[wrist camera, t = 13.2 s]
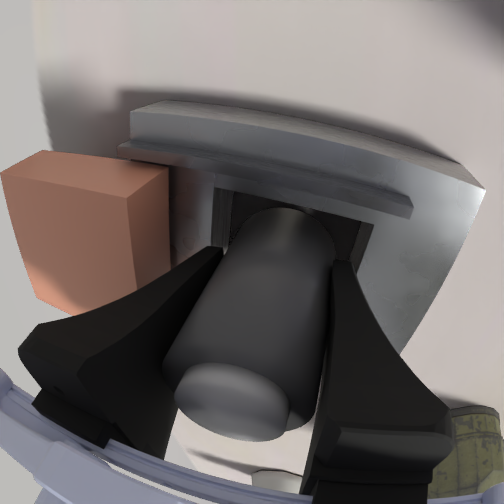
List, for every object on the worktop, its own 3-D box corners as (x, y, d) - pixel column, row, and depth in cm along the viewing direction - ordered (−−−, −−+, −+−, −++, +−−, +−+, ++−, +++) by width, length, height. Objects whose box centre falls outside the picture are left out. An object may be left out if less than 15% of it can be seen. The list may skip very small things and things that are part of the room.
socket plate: (462, 165, 10) (495, 200, 7) (381, 342, 16) (381, 393, 13) (164, 99, 12) (116, 116, 9) (167, 286, 18) (138, 327, 15)
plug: (357, 252, 12) (348, 428, 6) (292, 308, 14) (250, 458, 8) (273, 186, 11) (190, 338, 6) (217, 255, 14) (134, 395, 8)
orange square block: (168, 166, 10) (126, 198, 8) (173, 306, 14) (147, 347, 12) (42, 150, 11) (-1, 172, 9) (66, 268, 15) (36, 297, 13)
